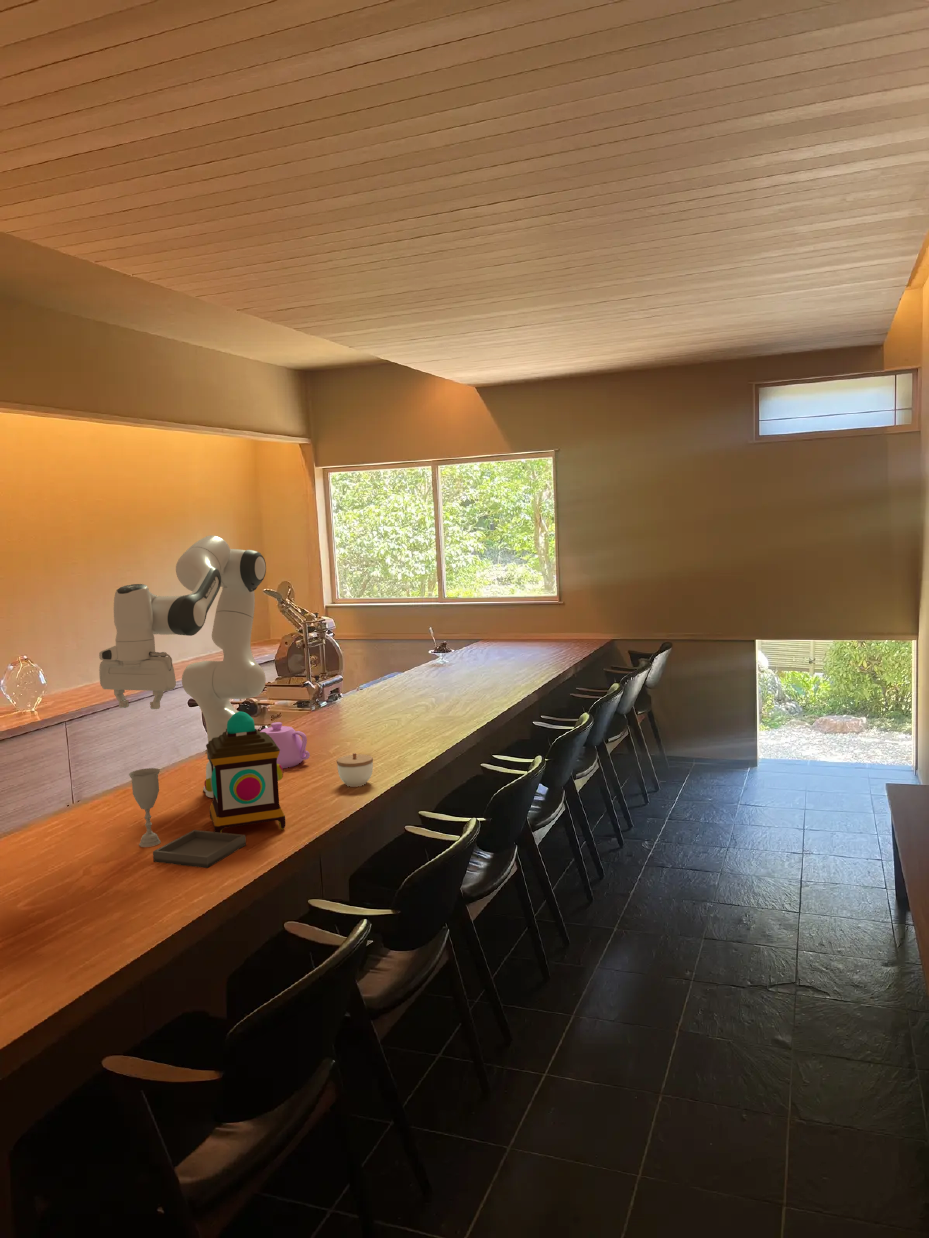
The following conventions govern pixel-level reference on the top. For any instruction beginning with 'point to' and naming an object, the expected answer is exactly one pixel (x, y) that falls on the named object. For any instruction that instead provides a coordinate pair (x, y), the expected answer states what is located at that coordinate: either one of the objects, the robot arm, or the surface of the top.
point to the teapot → (288, 744)
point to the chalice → (146, 799)
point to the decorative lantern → (244, 776)
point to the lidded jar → (355, 769)
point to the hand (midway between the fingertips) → (139, 708)
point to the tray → (199, 848)
